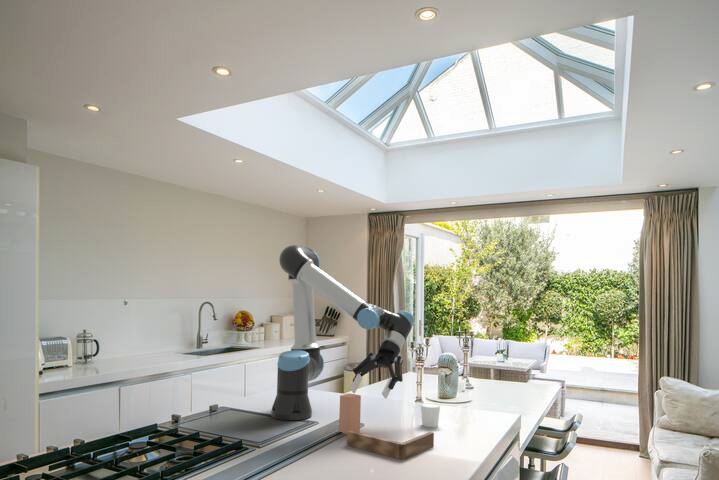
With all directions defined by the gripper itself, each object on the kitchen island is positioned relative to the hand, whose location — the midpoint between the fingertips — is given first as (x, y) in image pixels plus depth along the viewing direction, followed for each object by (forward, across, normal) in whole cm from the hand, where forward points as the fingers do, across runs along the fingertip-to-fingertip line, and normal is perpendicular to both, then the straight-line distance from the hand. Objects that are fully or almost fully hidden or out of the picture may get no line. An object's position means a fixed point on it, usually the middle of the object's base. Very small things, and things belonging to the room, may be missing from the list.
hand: (367, 393), depth 179 cm
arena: (+17, -17, 0) cm, 24 cm away
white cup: (-4, -14, -22) cm, 26 cm away
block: (+14, +2, -2) cm, 14 cm away
